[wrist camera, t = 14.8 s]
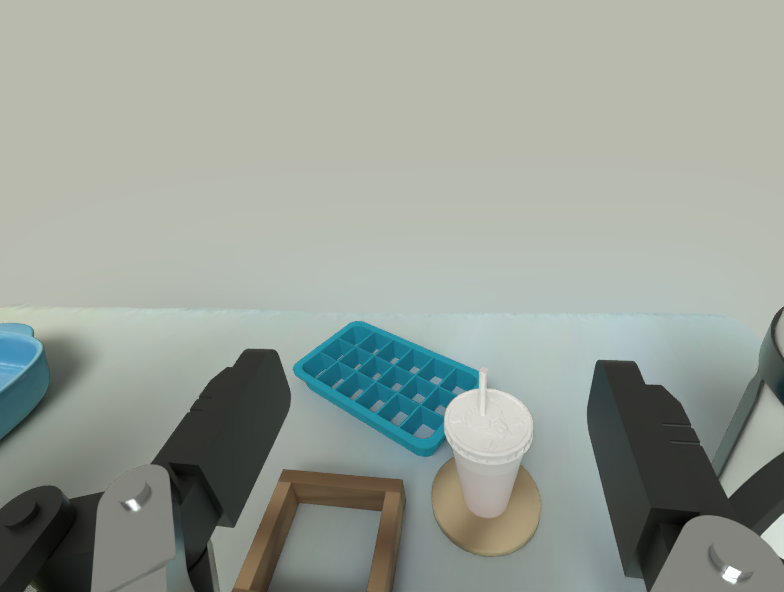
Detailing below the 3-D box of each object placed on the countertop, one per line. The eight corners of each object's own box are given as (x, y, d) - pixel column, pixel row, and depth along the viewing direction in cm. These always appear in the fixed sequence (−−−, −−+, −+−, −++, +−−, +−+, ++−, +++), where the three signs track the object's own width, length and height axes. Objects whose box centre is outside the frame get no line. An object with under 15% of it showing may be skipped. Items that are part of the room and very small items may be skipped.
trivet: (419, 537, 35) (418, 530, 35) (446, 447, 42) (445, 441, 42) (535, 572, 32) (536, 565, 32) (543, 469, 39) (544, 462, 39)
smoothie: (486, 451, 40) (490, 332, 33) (542, 504, 36) (560, 379, 28) (432, 490, 38) (422, 370, 30) (484, 552, 33) (487, 428, 25)
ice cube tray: (430, 474, 41) (428, 453, 39) (293, 387, 52) (287, 369, 51) (492, 397, 48) (492, 377, 46) (359, 336, 59) (356, 318, 58)
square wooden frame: (383, 649, 29) (377, 631, 28) (238, 625, 32) (225, 606, 30) (405, 500, 38) (402, 479, 37) (291, 489, 40) (283, 469, 39)
